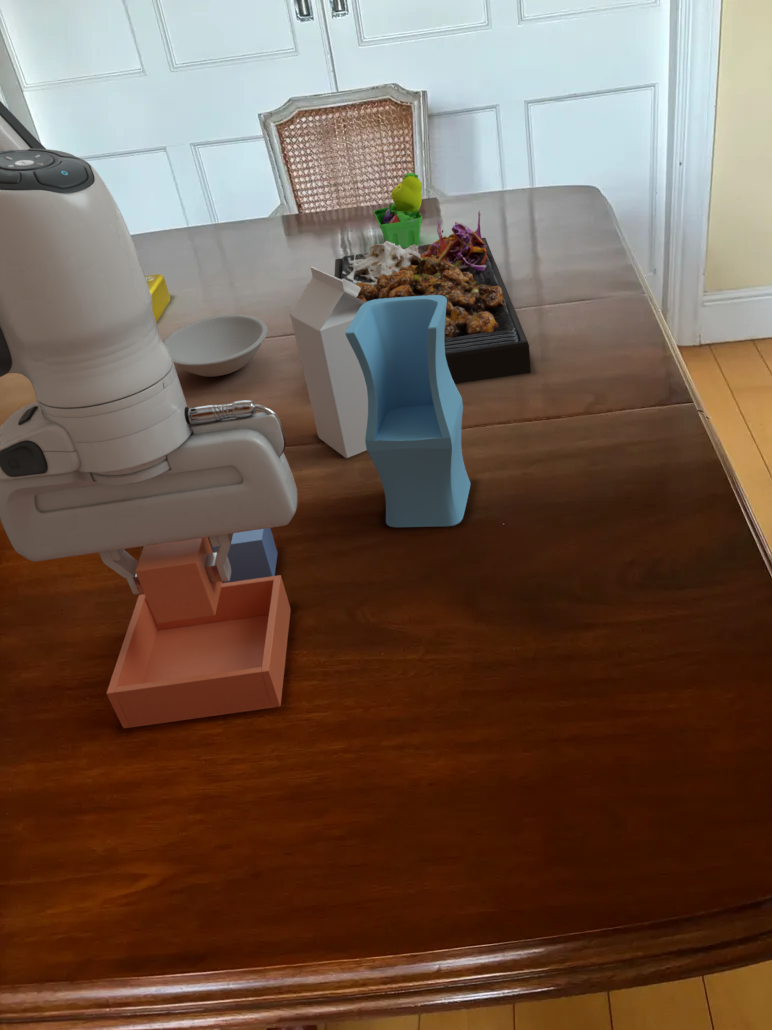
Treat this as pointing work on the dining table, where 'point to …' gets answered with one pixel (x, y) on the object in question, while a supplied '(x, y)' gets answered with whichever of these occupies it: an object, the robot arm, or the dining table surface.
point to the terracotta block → (178, 580)
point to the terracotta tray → (204, 658)
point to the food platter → (450, 298)
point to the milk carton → (332, 361)
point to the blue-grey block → (252, 555)
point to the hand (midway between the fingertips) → (183, 583)
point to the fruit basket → (402, 213)
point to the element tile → (158, 294)
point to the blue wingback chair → (412, 409)
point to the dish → (216, 344)
